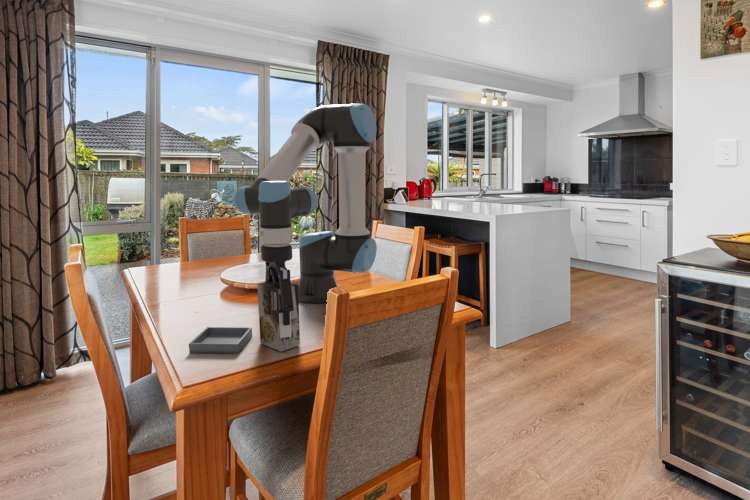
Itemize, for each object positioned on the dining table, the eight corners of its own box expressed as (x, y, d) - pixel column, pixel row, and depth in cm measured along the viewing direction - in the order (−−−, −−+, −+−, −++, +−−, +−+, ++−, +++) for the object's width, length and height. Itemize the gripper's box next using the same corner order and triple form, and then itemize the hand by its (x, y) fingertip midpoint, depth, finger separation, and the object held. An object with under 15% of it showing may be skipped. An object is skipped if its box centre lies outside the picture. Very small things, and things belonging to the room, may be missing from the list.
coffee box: (301, 345, 117) (299, 283, 114) (280, 352, 112) (278, 288, 109) (279, 336, 123) (277, 277, 120) (259, 343, 118) (256, 282, 115)
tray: (207, 335, 124) (207, 327, 123) (252, 336, 124) (251, 327, 123) (189, 353, 112) (188, 343, 112) (238, 353, 112) (238, 344, 111)
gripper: (250, 238, 121) (254, 318, 125) (273, 253, 101) (277, 347, 105) (278, 236, 125) (281, 314, 129) (306, 250, 105) (308, 342, 109)
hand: (279, 329), depth 117 cm, fingers closed on coffee box, 10 cm apart
